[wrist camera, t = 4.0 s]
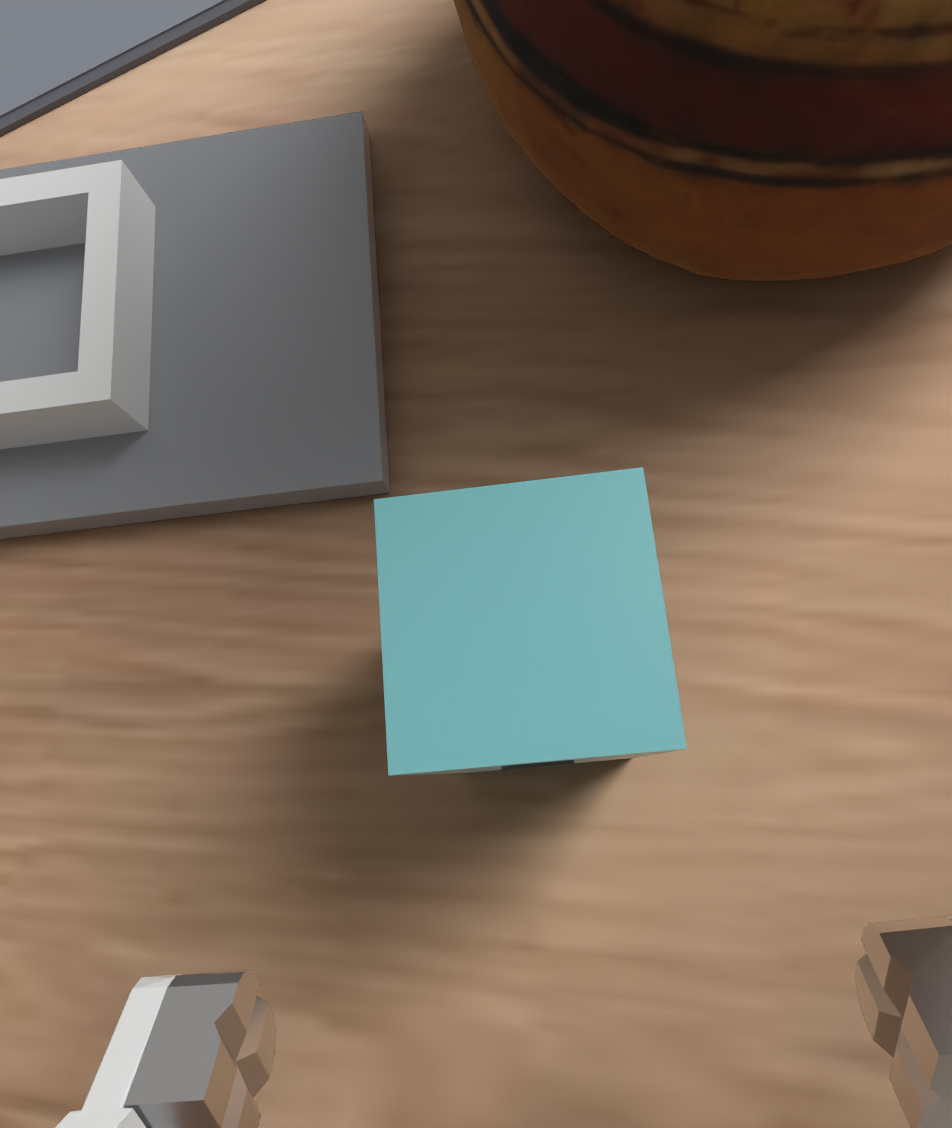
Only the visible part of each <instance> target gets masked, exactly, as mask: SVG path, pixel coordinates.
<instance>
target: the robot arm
mask: <svg viewBox="0 0 952 1128" xmlns="http://www.w3.org/2000/svg"><path fill="white" fill-rule="evenodd" d="M861 941H862V943H863V946H864V948H865V950H866V952H867V954H866V955H865V956H863V957H862V958H861V959H860V960H859V961H857V968H856V977H855V979H856V986H857V993H858V1000H859V1003H860V1006H861V1009H862V1013H863V1016H864V1019H865V1021H866V1024H867V1026H868V1029H869V1031H870V1034H871V1036H872V1038H873V1040H874V1041H875V1042H876V1043H877V1044H878V1045H880V1046H881V1047H882V1048H883V1049H884V1050H885V1051H886V1052H888V1053H889V1054H890V1055H891V1056H892V1057H893V1058H894V1059H893V1064H892V1068H891V1073H890V1077H889V1079H890V1081H891V1083H892V1085H893V1088H894V1090H895V1092H896V1095H897V1097H898V1099H899V1102H900V1104H901V1106H902V1109H903V1111H904V1113H905V1115H906V1118H907V1120H908V1122H909V1125H910V1127H911V1128H952V917H946V916H941V917H931V918H920V919H909V920H899V921H888V922H877V923H868V924H867V925H866V926H865V927H864V928H863V933H862V938H861ZM258 988H259V982H258V980H257V978H256V976H255V974H254V973H253V971H252V970H242V971H228V972H214V973H200V974H186V975H182V974H175V975H163V976H151V977H141V979H140V980H139V981H138V982H137V984H136V985H135V986H134V988H133V989H132V990H131V992H130V994H129V996H128V999H127V1001H126V1004H125V1006H124V1008H123V1011H122V1013H121V1016H120V1018H119V1020H118V1023H117V1025H116V1028H115V1030H114V1032H113V1035H112V1037H111V1040H110V1042H109V1044H108V1047H107V1049H106V1052H105V1054H104V1056H103V1059H102V1061H101V1064H100V1066H99V1068H98V1071H97V1073H96V1076H95V1078H94V1080H93V1083H92V1085H91V1088H90V1090H89V1092H88V1095H87V1097H86V1100H85V1102H84V1104H83V1107H82V1109H81V1110H77V1111H70V1112H69V1113H68V1114H67V1115H66V1116H65V1117H64V1118H63V1119H62V1120H61V1121H60V1123H59V1124H58V1125H57V1126H56V1127H55V1128H258V1126H259V1121H260V1117H261V1114H260V1112H259V1109H258V1106H257V1104H256V1101H255V1099H254V1096H255V1095H256V1094H257V1093H258V1091H259V1090H260V1089H261V1088H262V1087H263V1085H264V1084H265V1083H266V1082H267V1080H268V1079H269V1078H270V1073H271V1068H272V1064H273V1059H274V1054H275V1035H276V1028H275V1022H274V1016H273V1012H272V1010H271V1008H270V1006H269V1003H267V1002H266V1001H264V1000H262V999H261V998H259V997H257V992H258Z"/></svg>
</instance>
